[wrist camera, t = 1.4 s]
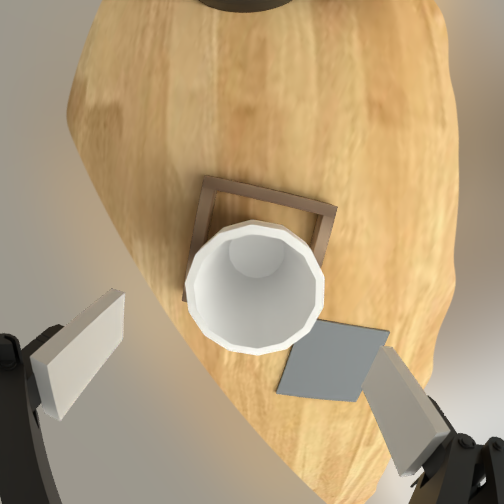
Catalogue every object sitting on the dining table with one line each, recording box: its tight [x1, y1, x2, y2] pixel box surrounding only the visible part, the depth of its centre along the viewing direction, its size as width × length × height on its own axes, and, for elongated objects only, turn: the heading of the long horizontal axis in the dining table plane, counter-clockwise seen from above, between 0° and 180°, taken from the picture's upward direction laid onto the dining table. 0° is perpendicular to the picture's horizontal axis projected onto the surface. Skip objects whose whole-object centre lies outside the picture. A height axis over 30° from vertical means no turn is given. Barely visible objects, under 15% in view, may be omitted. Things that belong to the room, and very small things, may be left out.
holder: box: [182, 175, 338, 302], centre depth 31 cm, size 13×13×2 cm
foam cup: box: [185, 219, 325, 355], centre depth 26 cm, size 10×9×13 cm
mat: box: [276, 319, 390, 402], centre depth 35 cm, size 12×12×1 cm
